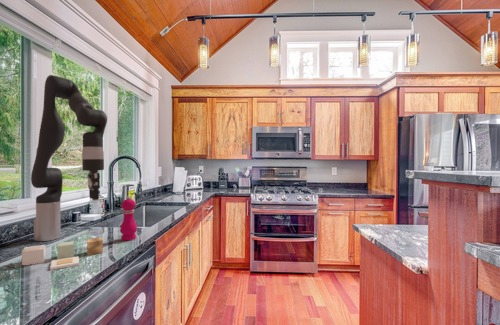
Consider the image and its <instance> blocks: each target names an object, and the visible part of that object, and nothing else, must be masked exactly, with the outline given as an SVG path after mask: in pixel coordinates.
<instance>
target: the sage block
mask: <svg viewBox="0 0 500 325" xmlns="http://www.w3.org/2000/svg"><path fill="white" fill-rule="evenodd" d="M71 257H75V241H74V240H73V241H65V242H64V241H63V242H58V243H57V260H59V259H65V258H71Z"/></svg>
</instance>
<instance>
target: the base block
mask: <svg viewBox="0 0 500 325" xmlns="http://www.w3.org/2000/svg"><path fill="white" fill-rule="evenodd" d="M45 260H46V244H40V245H33V246H32V245H31V246H27V247H26V246H25V247H23V249H22V251H21V266H22V265H26V266H30V264H32V265H36V264H37V263H38V264H43V263H45Z"/></svg>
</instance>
